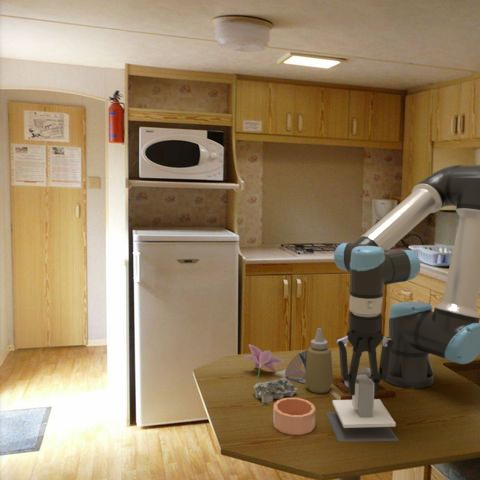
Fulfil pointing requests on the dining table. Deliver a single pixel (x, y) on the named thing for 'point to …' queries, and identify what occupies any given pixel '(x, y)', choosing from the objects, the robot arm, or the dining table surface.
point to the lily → (263, 358)
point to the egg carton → (274, 385)
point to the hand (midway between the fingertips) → (362, 406)
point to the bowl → (294, 416)
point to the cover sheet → (362, 422)
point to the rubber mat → (359, 431)
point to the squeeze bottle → (319, 365)
